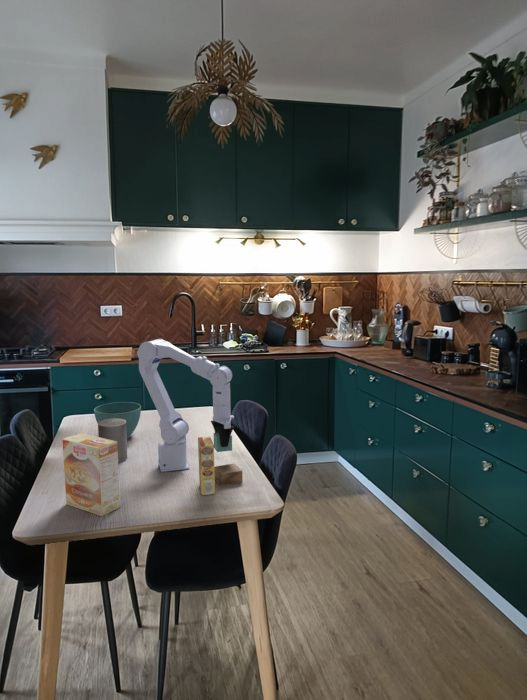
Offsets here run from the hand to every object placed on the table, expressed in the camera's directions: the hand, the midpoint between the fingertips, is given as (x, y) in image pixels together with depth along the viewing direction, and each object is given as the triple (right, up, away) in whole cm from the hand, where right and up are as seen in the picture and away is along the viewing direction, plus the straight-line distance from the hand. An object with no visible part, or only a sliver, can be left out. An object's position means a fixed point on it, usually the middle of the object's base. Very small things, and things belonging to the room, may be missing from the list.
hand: (222, 443), depth 170 cm
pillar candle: (-40, -8, +13) cm, 42 cm away
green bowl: (-45, -4, +38) cm, 59 cm away
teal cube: (0, -2, 0) cm, 2 cm away
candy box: (-4, -12, -13) cm, 18 cm away
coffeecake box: (-35, -13, -24) cm, 44 cm away
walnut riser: (+2, -11, -6) cm, 12 cm away
